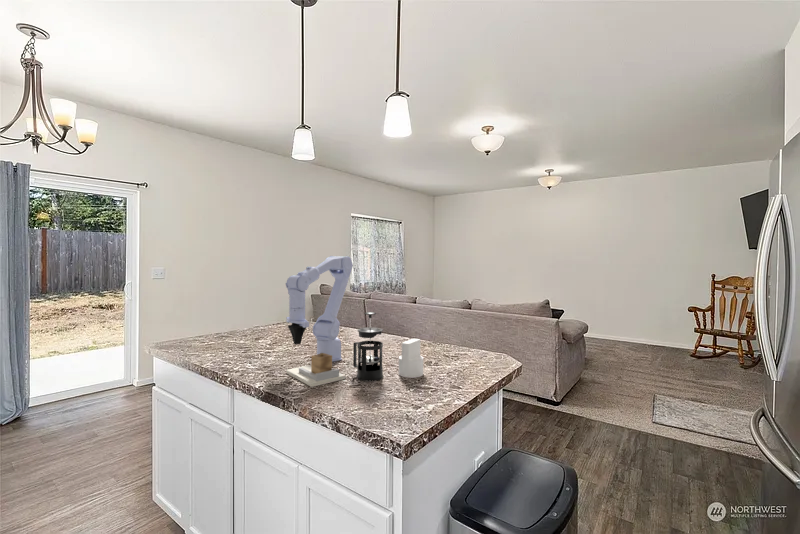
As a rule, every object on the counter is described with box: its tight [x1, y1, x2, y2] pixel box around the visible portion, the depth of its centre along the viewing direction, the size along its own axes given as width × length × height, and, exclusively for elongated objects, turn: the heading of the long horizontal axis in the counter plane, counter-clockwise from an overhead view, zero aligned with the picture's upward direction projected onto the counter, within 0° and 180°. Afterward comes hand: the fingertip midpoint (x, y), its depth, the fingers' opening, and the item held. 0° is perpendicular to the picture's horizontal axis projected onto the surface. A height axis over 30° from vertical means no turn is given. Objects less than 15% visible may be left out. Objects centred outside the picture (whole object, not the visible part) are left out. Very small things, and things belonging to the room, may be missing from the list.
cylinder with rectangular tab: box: [398, 338, 424, 379], centre depth 136 cm, size 9×9×12 cm
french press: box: [352, 311, 384, 382], centre depth 131 cm, size 12×9×23 cm
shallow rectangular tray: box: [285, 364, 346, 388], centre depth 132 cm, size 13×19×4 cm
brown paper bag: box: [310, 353, 333, 374], centre depth 129 cm, size 5×5×8 cm
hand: (297, 344), depth 138 cm, fingers closed
